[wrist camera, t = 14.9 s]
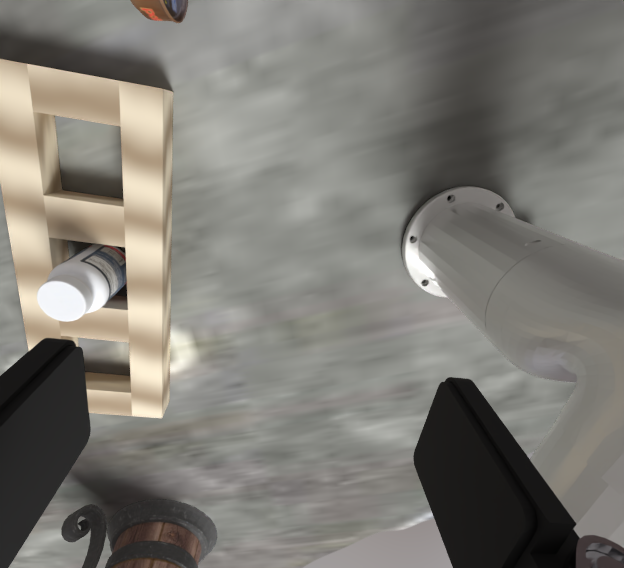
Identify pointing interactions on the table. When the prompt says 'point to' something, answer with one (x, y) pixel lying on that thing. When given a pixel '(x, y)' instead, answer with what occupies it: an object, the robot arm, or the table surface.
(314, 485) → the table surface
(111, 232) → the wooden rack
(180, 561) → the tankard
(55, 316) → the pill bottle
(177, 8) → the tin
